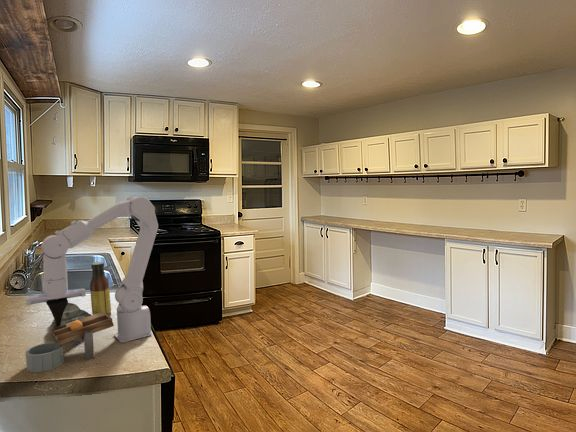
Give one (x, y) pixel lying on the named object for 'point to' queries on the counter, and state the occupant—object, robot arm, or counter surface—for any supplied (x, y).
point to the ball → (76, 325)
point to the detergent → (72, 313)
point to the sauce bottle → (99, 290)
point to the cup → (44, 357)
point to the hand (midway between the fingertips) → (58, 325)
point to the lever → (88, 324)
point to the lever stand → (86, 344)
